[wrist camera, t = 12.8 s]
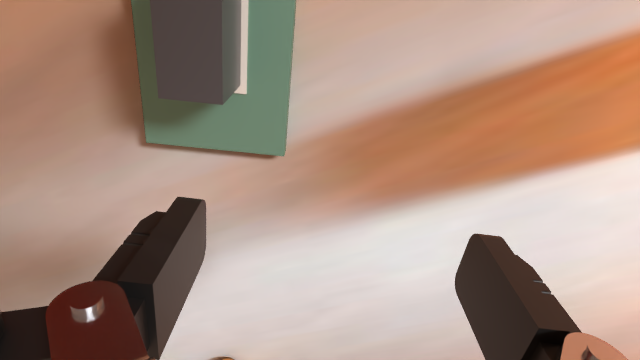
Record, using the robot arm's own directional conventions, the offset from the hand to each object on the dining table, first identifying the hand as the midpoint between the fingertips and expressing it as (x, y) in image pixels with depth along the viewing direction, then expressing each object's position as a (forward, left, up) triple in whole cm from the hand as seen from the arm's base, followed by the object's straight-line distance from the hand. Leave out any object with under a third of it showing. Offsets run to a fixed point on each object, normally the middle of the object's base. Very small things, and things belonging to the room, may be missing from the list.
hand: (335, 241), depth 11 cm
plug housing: (-3, -9, -21) cm, 23 cm away
